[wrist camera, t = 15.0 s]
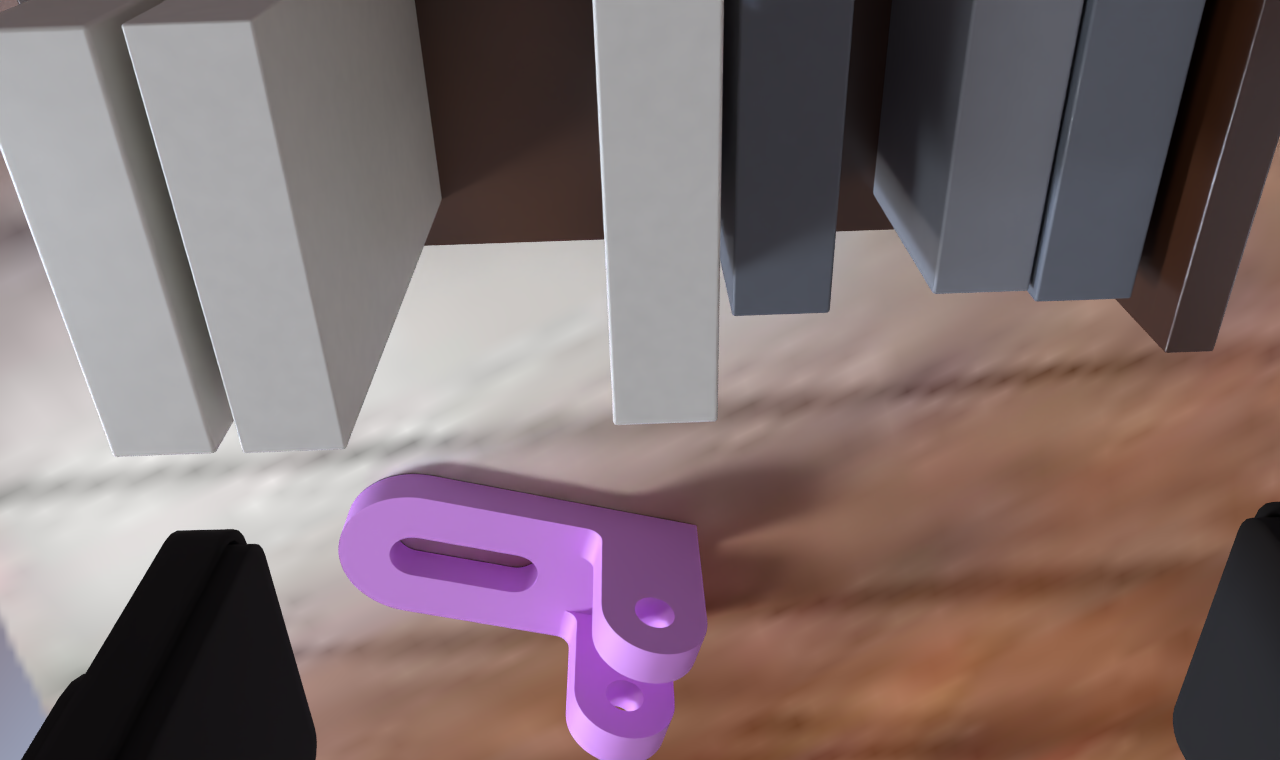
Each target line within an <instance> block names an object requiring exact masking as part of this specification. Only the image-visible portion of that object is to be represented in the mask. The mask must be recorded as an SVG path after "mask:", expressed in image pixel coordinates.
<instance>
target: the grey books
mask: <svg viewBox="0 0 1280 760" xmlns="http://www.w3.org/2000/svg"><path fill="white" fill-rule="evenodd" d="M1205 2H1206V0H892V7H891V17H890V27H889V37H888V48H887V58H886V68H885V78H884V88H883V98H882V109H881V119H880V129H879V139H878V149H877V159H876V169H875V180H874V190H873V194H874V196H875V198H876V199H877V201H878V203H879V204H880V206H881V208H882V209H883V211H884V213H885V214H886V216H887V217H888V219H889V221H890V222H891V224H892V226H893V227H894V229H895V231H896V232H897V234H898V236H899V237H900V239H901V241H902V242H903V244H904V246H905V247H906V249H907V251H908V252H909V254H910V256H911V257H912V259H913V261H914V262H915V264H916V266H917V267H918V269H919V271H920V272H921V274H922V276H923V277H924V279H925V281H926V282H927V284H928V286H929V287H930V289H931V291H932V292H933V293H935V294H944V293H973V292H1001V291H1026V290H1027V291H1028V293H1029V294H1030V295H1031V296H1032V298H1033V299H1034V300H1035V301H1064V300H1092V299H1121V298H1130V297H1131V294H1132V291H1133V287H1134V283H1135V279H1136V275H1137V271H1138V267H1139V263H1140V259H1141V255H1142V251H1143V247H1144V243H1145V239H1146V235H1147V231H1148V227H1149V223H1150V219H1151V215H1152V212H1153V208H1154V204H1155V200H1156V196H1157V192H1158V188H1159V184H1160V180H1161V176H1162V172H1163V168H1164V164H1165V160H1166V156H1167V152H1168V148H1169V144H1170V140H1171V136H1172V132H1173V129H1174V125H1175V121H1176V117H1177V113H1178V109H1179V105H1180V101H1181V97H1182V93H1183V89H1184V85H1185V81H1186V77H1187V73H1188V69H1189V65H1190V61H1191V57H1192V53H1193V50H1194V46H1195V42H1196V38H1197V34H1198V30H1199V26H1200V22H1201V18H1202V14H1203V10H1204V6H1205ZM853 11H854V0H724V27H723V93H722V159H721V225H720V260H721V265H722V270H723V274H724V279H725V283H726V288H727V293H728V297H729V302H730V306H731V311H732V314H733V315H734V316H744V315H772V314H801V313H827V312H829V310H830V299H831V287H832V274H833V261H834V249H835V236H836V224H837V211H838V199H839V186H840V174H841V161H842V149H843V136H844V124H845V111H846V99H847V86H848V74H849V61H850V48H851V36H852V23H853Z"/></svg>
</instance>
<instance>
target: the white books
mask: <svg viewBox="0 0 1280 760" xmlns="http://www.w3.org/2000/svg"><path fill="white" fill-rule="evenodd" d="M0 149H1V152H2V154H3V157H4V160H5V163H6V165H7V168H8V171H9V173H10V176H11V179H12V182H13V184H14V187H15V190H16V192H17V195H18V198H19V201H20V203H21V206H22V209H23V212H24V214H25V217H26V220H27V222H28V225H29V228H30V231H31V233H32V236H33V239H34V241H35V244H36V247H37V250H38V252H39V255H40V258H41V260H42V263H43V266H44V269H45V271H46V274H47V277H48V279H49V282H50V285H51V288H52V290H53V293H54V296H55V298H56V301H57V304H58V307H59V309H60V312H61V315H62V318H63V320H64V323H65V326H66V328H67V331H68V334H69V337H70V339H71V342H72V345H73V347H74V350H75V353H76V356H77V358H78V361H79V364H80V366H81V369H82V372H83V375H84V377H85V380H86V383H87V385H88V388H89V391H90V394H91V396H92V399H93V402H94V404H95V407H96V410H97V413H98V415H99V418H100V421H101V424H102V426H103V429H104V432H105V434H106V437H107V440H108V443H109V445H110V448H111V451H112V453H113V455H114V456H117V457H120V456H148V455H176V454H204V453H214V452H216V451H217V449H218V447H219V445H220V444H221V442H222V440H223V438H224V437H225V435H226V433H227V431H228V430H229V428H230V426H231V424H232V423H233V421H234V422H235V426H236V429H237V433H238V437H239V440H240V444H241V447H242V451H243V452H244V453H253V452H281V451H308V450H336V449H345V448H346V446H347V444H348V441H349V439H350V436H351V433H352V431H353V428H354V426H355V423H356V420H357V418H358V415H359V413H360V410H361V408H362V405H363V402H364V400H365V397H366V395H367V392H368V389H369V387H370V384H371V382H372V379H373V376H374V374H375V371H376V369H377V366H378V363H379V361H380V358H381V356H382V353H383V350H384V348H385V345H386V343H387V340H388V338H389V335H390V332H391V330H392V327H393V325H394V322H395V319H396V317H397V314H398V312H399V309H400V306H401V304H402V301H403V299H404V296H405V293H406V291H407V288H408V286H409V283H410V281H411V278H412V275H413V273H414V270H415V268H416V265H417V262H418V260H419V257H420V255H421V252H422V249H423V247H424V244H425V242H426V239H427V236H428V234H429V231H430V229H431V226H432V223H433V221H434V218H435V216H436V213H437V211H438V208H439V205H440V203H441V200H442V197H441V190H440V182H439V175H438V168H437V160H436V153H435V146H434V138H433V131H432V124H431V116H430V109H429V102H428V95H427V87H426V80H425V73H424V65H423V58H422V51H421V43H420V36H419V29H418V22H417V14H416V7H415V0H29V1H27V2H24V3H22V4H19V5H17V6H15V7H12V8H10V9H7V10H5V11H2V12H0Z"/></svg>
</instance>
